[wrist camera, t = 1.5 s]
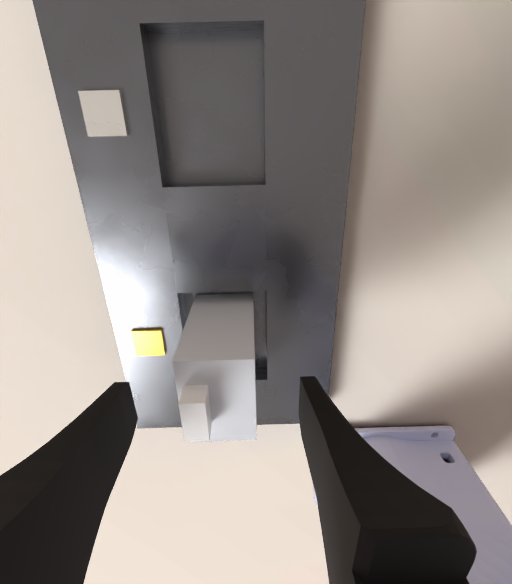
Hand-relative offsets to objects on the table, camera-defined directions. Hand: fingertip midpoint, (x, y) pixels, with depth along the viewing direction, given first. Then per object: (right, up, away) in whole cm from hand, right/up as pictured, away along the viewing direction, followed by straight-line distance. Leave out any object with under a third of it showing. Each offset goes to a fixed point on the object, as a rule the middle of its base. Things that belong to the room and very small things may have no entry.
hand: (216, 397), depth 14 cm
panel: (0, +7, +3) cm, 8 cm away
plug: (0, +2, +5) cm, 6 cm away
